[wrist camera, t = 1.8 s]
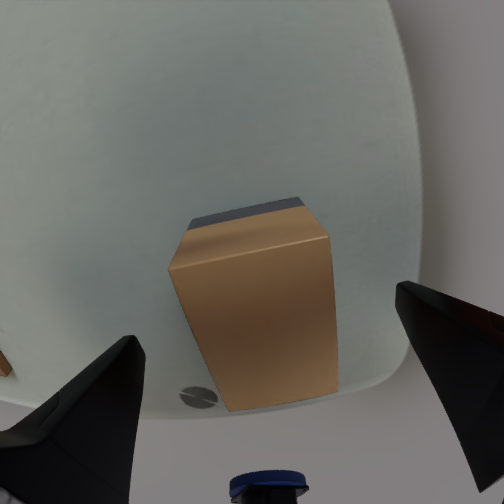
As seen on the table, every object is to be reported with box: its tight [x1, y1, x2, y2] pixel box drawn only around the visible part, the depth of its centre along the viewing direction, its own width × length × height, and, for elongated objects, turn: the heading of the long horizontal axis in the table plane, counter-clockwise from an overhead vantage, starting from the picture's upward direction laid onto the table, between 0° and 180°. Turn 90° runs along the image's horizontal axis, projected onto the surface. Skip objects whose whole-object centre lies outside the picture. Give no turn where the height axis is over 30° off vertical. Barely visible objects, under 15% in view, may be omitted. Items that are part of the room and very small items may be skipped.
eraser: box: [168, 197, 338, 411], centre depth 10 cm, size 6×4×4 cm, turn 12°
